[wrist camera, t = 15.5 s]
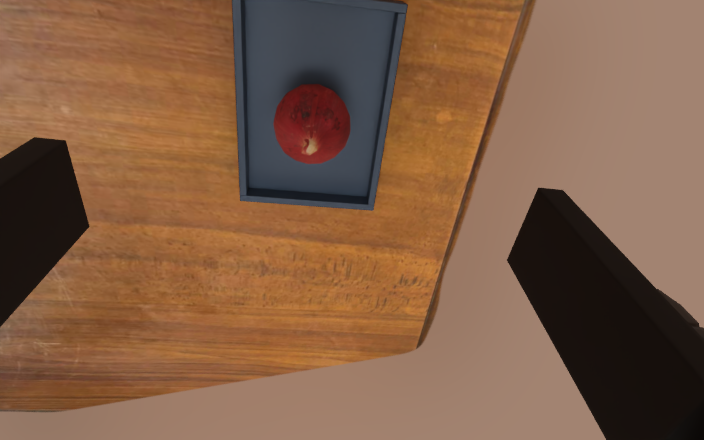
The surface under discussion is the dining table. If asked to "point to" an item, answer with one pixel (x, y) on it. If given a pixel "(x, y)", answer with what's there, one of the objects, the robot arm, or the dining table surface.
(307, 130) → the onion
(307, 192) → the tray
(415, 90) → the dining table surface
